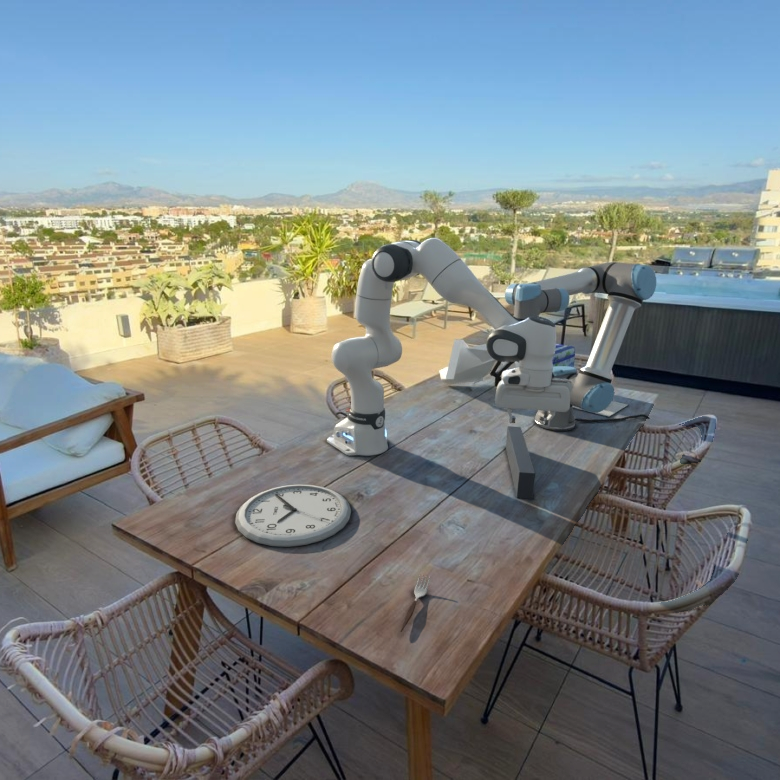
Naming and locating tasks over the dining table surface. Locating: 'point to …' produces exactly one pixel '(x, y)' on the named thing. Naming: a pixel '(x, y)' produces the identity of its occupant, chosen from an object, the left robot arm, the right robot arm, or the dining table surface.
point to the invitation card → (610, 408)
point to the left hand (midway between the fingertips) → (529, 423)
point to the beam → (520, 463)
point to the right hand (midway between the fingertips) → (519, 397)
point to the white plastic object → (468, 364)
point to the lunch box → (564, 356)
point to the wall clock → (293, 515)
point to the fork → (418, 593)
